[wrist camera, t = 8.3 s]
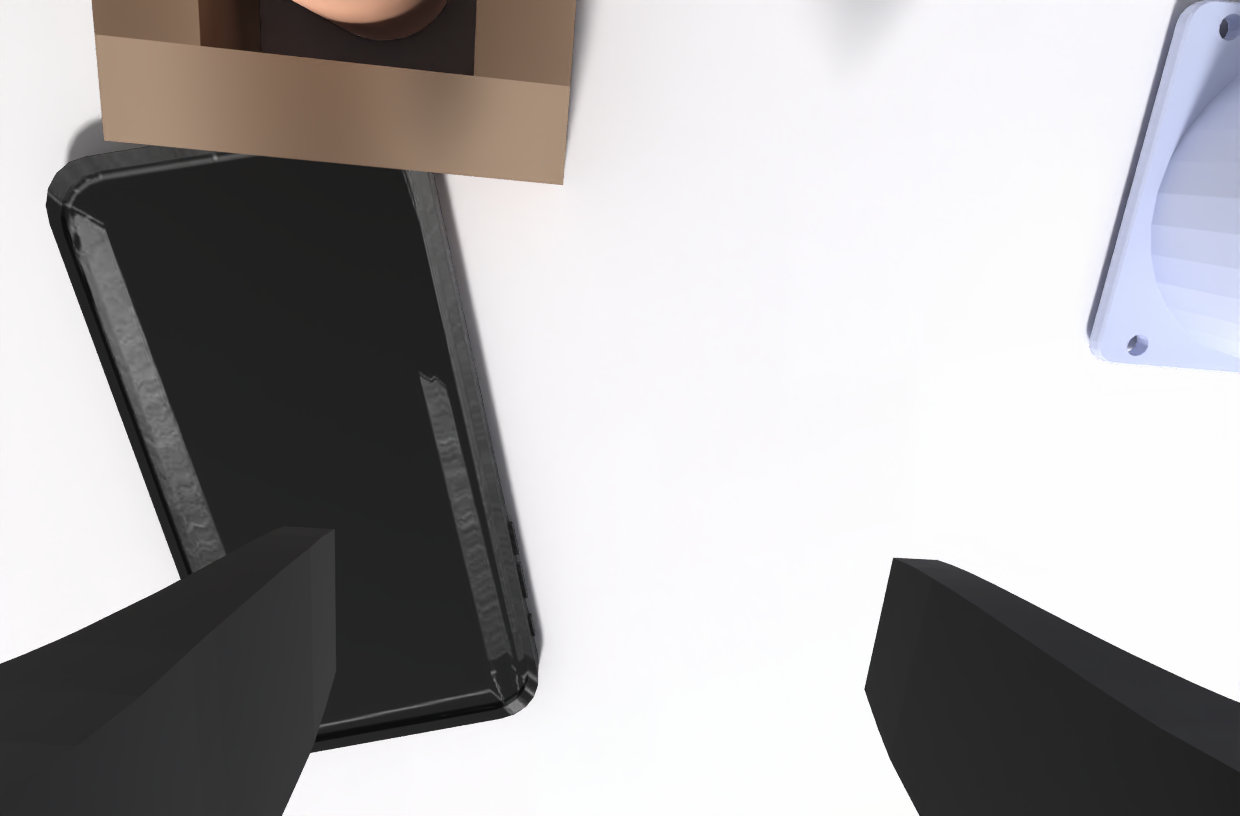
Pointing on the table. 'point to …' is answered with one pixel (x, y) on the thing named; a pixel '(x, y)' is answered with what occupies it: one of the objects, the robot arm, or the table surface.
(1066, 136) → the table surface
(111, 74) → the socket block
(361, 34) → the peg
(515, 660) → the phone
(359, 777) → the table surface
